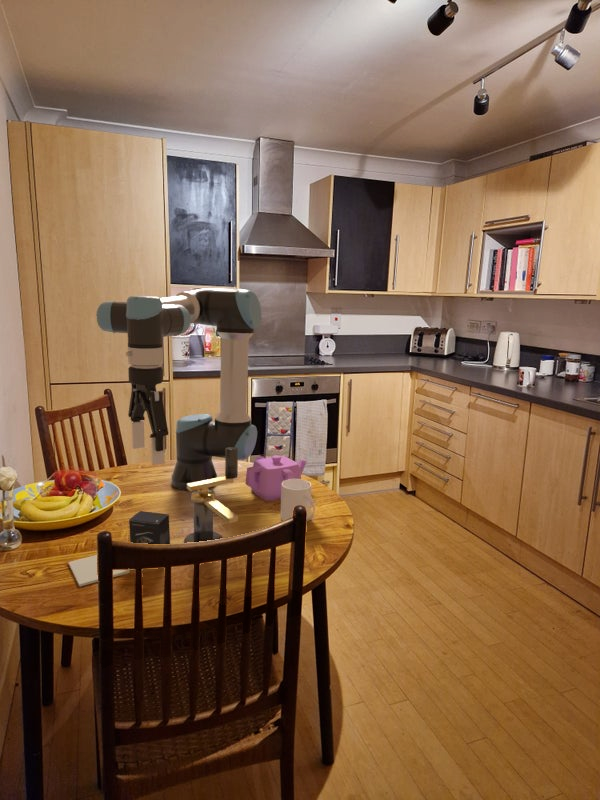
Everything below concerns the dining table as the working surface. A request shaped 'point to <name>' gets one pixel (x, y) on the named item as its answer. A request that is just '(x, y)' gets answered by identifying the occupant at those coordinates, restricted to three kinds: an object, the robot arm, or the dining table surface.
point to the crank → (209, 496)
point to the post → (202, 524)
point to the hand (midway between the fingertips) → (147, 455)
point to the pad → (89, 570)
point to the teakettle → (272, 475)
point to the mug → (296, 497)
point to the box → (149, 528)
